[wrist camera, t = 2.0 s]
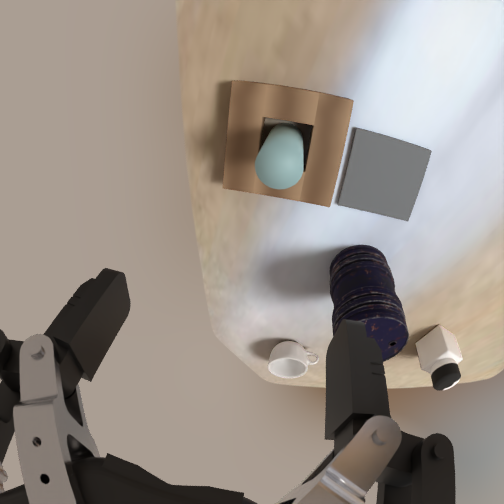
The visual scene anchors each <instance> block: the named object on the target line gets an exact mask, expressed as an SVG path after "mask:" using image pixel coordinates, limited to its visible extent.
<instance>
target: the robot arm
mask: <svg viewBox="0 0 504 504" xmlns="http://www.w3.org/2000/svg"><path fill="white" fill-rule="evenodd" d="M129 311H130V298H129V293H128V288H127V283H126V277H125V274H124V273H123V272H119V271H115V270H111V269H108V268H105V269H103V270H102V271H101V272H100V274H99V275H98V276H97V277H96V279H93V278H91V279H89V280H88V281H86V282H85V283H83V284H82V285H81V286H80V287H79V288H78V289H77V291H76V292H75V293H74V294H73V297H71V298H70V300H69V301H68V302H67V305H65V306H64V307H63V309H62V310H61V311H60V313H59V314H58V315H57V317H56V318H55V319H54V321H53V322H52V324H51V325H50V326H49V328H48V329H47V331H46V332H45V333H44V334H43V335H42V334H36V335H33V336H30V337H29V338H28V339H26V340H25V341H24V342H23V341H15V340H9V339H7V337H6V336H5V334H4V332H3V331H2V330H0V379H1V380H2V381H1V383H0V504H257V503H255V502H253V501H252V500H250V499H247V498H245V497H243V496H244V493H240V492H234V491H229V490H224V489H219V488H214V487H210V486H181V485H171V484H168V483H166V482H164V481H162V480H160V479H159V478H157V477H156V476H154V475H152V474H151V473H149V472H147V471H146V470H144V469H143V468H141V467H140V466H138V465H135V464H133V463H130V462H128V461H125V460H123V459H120V458H118V457H115V456H113V455H110V454H108V453H107V456H106V458H103V457H100V456H99V452H98V449H97V446H96V444H95V441H94V439H93V438H92V436H91V434H90V432H89V429H88V426H87V422H86V418H85V413H84V409H83V404H82V399H81V394H80V389H79V385H78V382H79V381H80V379H81V378H84V379H86V380H88V381H90V382H91V381H92V379H93V377H94V375H95V373H96V371H97V369H98V367H99V366H100V364H101V362H102V360H103V358H104V356H105V355H106V353H107V351H108V349H109V347H110V346H111V344H112V342H113V340H114V339H115V337H116V335H117V333H118V332H119V330H120V328H121V326H122V325H123V323H124V321H125V320H126V318H127V316H128V314H129ZM384 374H385V371H384V366H383V358H382V352H381V349H380V347H379V346H378V344H377V342H376V341H375V339H374V338H368V337H367V335H366V328H365V324H364V322H360V321H353V320H347V319H343V320H342V321H341V323H340V325H339V327H338V329H337V331H336V333H335V335H334V337H333V338H332V340H331V342H330V344H329V347H328V350H327V355H326V418H325V439H326V440H327V439H328V440H334V449H333V450H332V451H331V452H330V453H329V454H328V455H327V456H326V457H325V458H324V459H323V461H322V462H321V463H320V464H319V465H318V466H317V467H316V468H315V469H314V470H313V471H312V472H311V473H310V474H309V475H308V476H307V477H306V478H305V479H304V480H303V481H302V482H301V483H300V484H299V485H298V486H296V487H295V488H294V489H293V490H291V491H290V492H289V493H288V494H286V495H285V496H284V497H283V498H282V499H281V500H279V501H278V502H277V503H276V504H365V499H364V497H365V495H366V493H367V492H368V491H369V489H370V488H371V486H372V485H373V484H374V482H375V481H376V482H378V492H377V503H376V504H455V466H454V451H453V446H452V443H451V441H450V440H449V439H448V438H447V437H446V436H445V435H442V434H438V433H436V434H432V435H430V436H428V437H427V438H425V439H423V438H420V437H417V436H413V435H410V434H407V433H405V432H403V431H401V430H400V427H399V426H398V424H397V423H396V422H395V421H394V420H393V419H391V416H390V411H389V402H388V393H387V385H386V378H385V376H384ZM14 431H15V436H16V443H17V449H18V455H19V461H20V466H21V471H22V475H23V480H24V484H23V485H21V486H18V487H16V488H13V489H11V490H8V491H4V488H3V482H6V481H7V478H8V476H7V473H6V471H5V470H3V466H2V462H3V459H4V457H5V454H6V452H7V449H8V446H9V444H10V441H11V439H12V436H13V434H14Z"/></svg>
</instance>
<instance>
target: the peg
mask: <svg viewBox="0 0 504 504" xmlns="http://www.w3.org/2000/svg"><path fill="white" fill-rule="evenodd" d="M303 169H304V165H303V136H302V133H301V131H300V130H299V129H298V128H297V127H296V126H295V125H293V124H289V123H281V124H278V125H276V126H275V127H274V128H273V129H272V130H271V132H270V133H269V135H268V137H267V139H266V141H265V142H264V144H263V146H262V148H261V150H260V152H259V153H258V155H257V157H256V160H255V171H256V174H257V176H258V178H259V179H260V180H261V182H262V183H264V184H265V185H266V186H268V187H270V188H274V189H287V188H290V187H292V186H293V185H295V184H296V183H297V182H298V181H299V180H300V178H301V176H302V174H303Z"/></svg>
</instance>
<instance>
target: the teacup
mask: <svg viewBox="0 0 504 504" xmlns="http://www.w3.org/2000/svg"><path fill="white" fill-rule="evenodd" d="M309 355H312V356H315V357H316V358H317V360H316V361H315V362H312V361H310V360H309V359H308V357H307V356H309ZM318 360H319V357H318V355H316V354H314V353H312V352H308V351H306V350H305V349H304V348H303V347H302V346H301V345H300V344H299V343H296V342H293V341H284V342H281V343H279V344H277V345H276V346H275V347H274V348H273V350H272V352H271V354H270V358H269V362H268V370H269V372H270V373H272V374H273V375H275V376H278V377H282V378H296V377H300V376H302V375H304V374H305V373H306V372H307V369H308V368H307V366H308V364H309V365H314V364H316V363H317V362H318Z"/></svg>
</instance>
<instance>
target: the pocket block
mask: <svg viewBox="0 0 504 504" xmlns="http://www.w3.org/2000/svg"><path fill="white" fill-rule="evenodd" d="M353 102H354V101H353V100H351V99H348V98H344V97H339V96H335V95H331V94H326V93H321V92H316V91H311V90H305V89H300V88H294V87H288V86H281V85H274V84H266V83H258V82H249V81H238V80H237V81H232V86H231V96H230V106H229V117H228V128H227V139H226V151H225V163H224V176H223V188H224V189H230V190H237V191H243V192H249V193H256V194H262V195H267V196H273V197H279V198H284V199H290V200H295V201H301V202H306V203H311V204H316V205H321V206H326V207H330V204H331V201H332V197H333V193H334V189H335V184H336V180H337V176H338V172H339V168H340V163H341V159H342V155H343V150H344V146H345V141H346V136H347V132H348V127H349V122H350V117H351V112H352V107H353ZM265 117H268V118H275V119H281V120H287V121H293V122H299V123H304V124H309V125H312V130H311V135H310V141H309V146H308V152H307V157H306V162H305V165H304V169H303V174H302V176H301V178H300V180H299V181H298V182H297V183H296V184H295V185H293V186H292V187H290V188H287V189H274V188H270V187H268V186H266V185H265V184H264V183H262V182H261V180H260V179H259V178H258V176H257V174H256V171H255V160H256V157H257V155H258V153H259V152H260V150H261V145H262V137H263V129H264V121H265Z"/></svg>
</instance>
